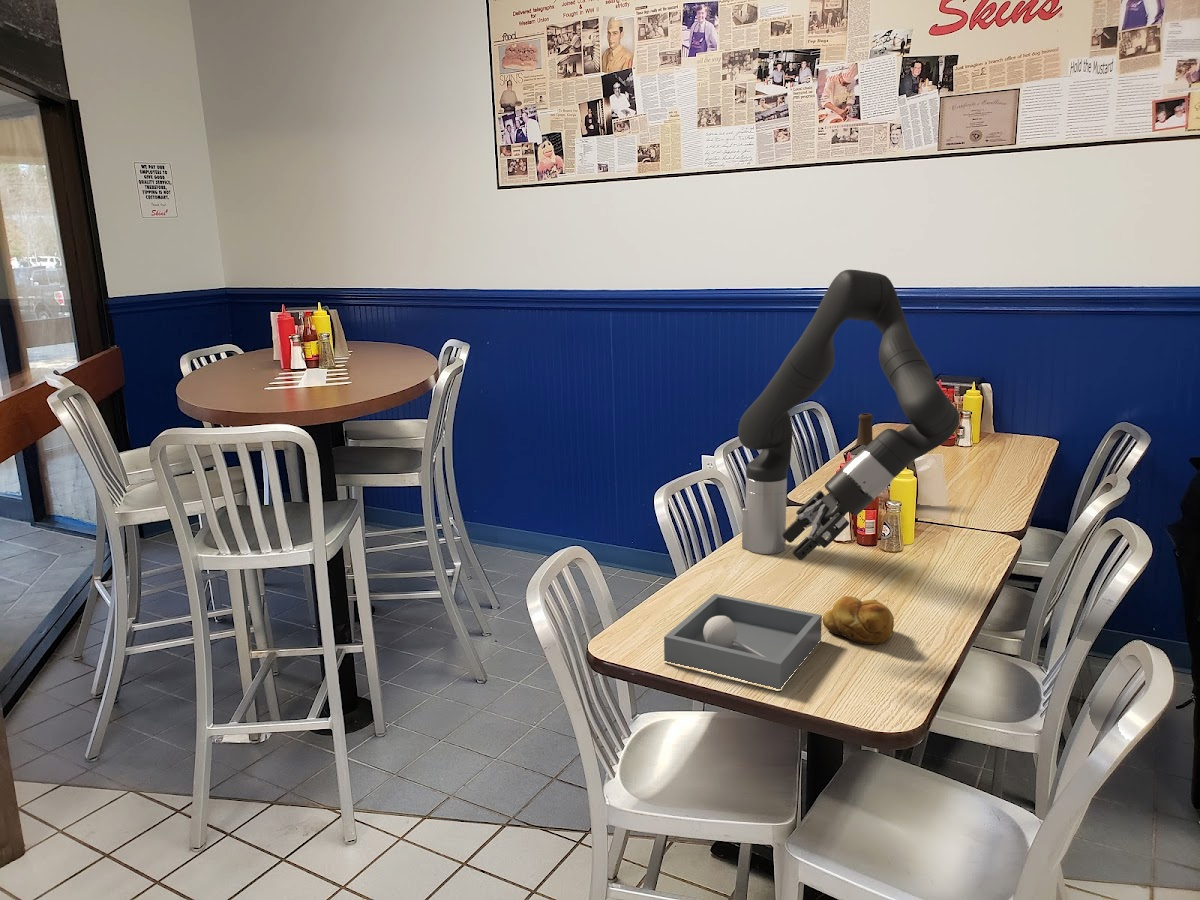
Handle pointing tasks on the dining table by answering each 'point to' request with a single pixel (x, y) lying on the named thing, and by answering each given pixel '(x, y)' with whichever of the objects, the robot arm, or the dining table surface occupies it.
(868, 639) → the bread roll
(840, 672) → the dining table surface
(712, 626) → the lollipop
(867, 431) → the beer bottle
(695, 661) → the tray
